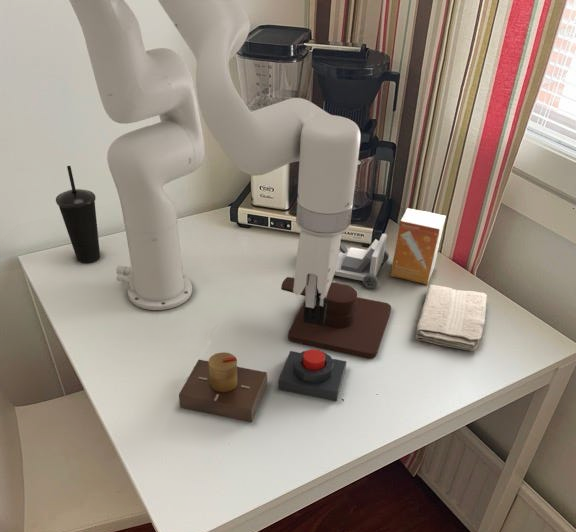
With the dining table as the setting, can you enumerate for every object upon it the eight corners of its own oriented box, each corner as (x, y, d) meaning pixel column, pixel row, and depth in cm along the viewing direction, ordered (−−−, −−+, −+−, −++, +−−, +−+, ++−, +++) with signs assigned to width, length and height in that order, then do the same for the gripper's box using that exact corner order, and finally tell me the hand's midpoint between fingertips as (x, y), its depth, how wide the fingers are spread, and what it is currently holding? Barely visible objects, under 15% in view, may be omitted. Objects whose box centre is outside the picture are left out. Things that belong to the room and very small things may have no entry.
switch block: (278, 389, 102) (278, 371, 99) (289, 360, 108) (290, 342, 105) (336, 401, 100) (338, 383, 98) (345, 370, 106) (347, 352, 103)
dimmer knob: (212, 394, 96) (210, 370, 93) (208, 376, 99) (206, 352, 96) (240, 389, 97) (239, 366, 94) (234, 372, 100) (233, 348, 97)
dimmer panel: (180, 408, 98) (178, 393, 96) (199, 372, 105) (198, 358, 103) (251, 422, 96) (251, 408, 94) (267, 385, 103) (267, 371, 101)
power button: (300, 368, 101) (301, 360, 99) (305, 355, 103) (306, 347, 102) (321, 372, 100) (322, 364, 99) (326, 359, 103) (327, 351, 101)
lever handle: (295, 258, 119) (397, 277, 115) (294, 290, 124) (391, 309, 120) (268, 304, 108) (380, 327, 103) (268, 337, 112) (374, 360, 108)
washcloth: (413, 342, 112) (416, 329, 110) (425, 291, 125) (428, 278, 123) (479, 355, 110) (483, 342, 108) (484, 301, 123) (488, 288, 121)
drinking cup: (78, 246, 134) (58, 157, 121) (111, 250, 134) (95, 160, 120) (64, 265, 129) (41, 172, 115) (99, 268, 128) (80, 176, 115)
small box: (390, 277, 129) (399, 220, 120) (397, 262, 133) (406, 206, 124) (427, 285, 127) (440, 228, 118) (434, 270, 131) (446, 214, 122)
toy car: (294, 230, 122) (311, 206, 131) (292, 272, 129) (309, 246, 137) (382, 247, 118) (394, 221, 127) (376, 290, 125) (387, 262, 133)
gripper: (309, 186, 90) (302, 291, 102) (283, 235, 79) (278, 345, 91) (359, 194, 88) (346, 299, 101) (340, 245, 78) (328, 355, 90)
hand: (314, 320), depth 96 cm, fingers closed
